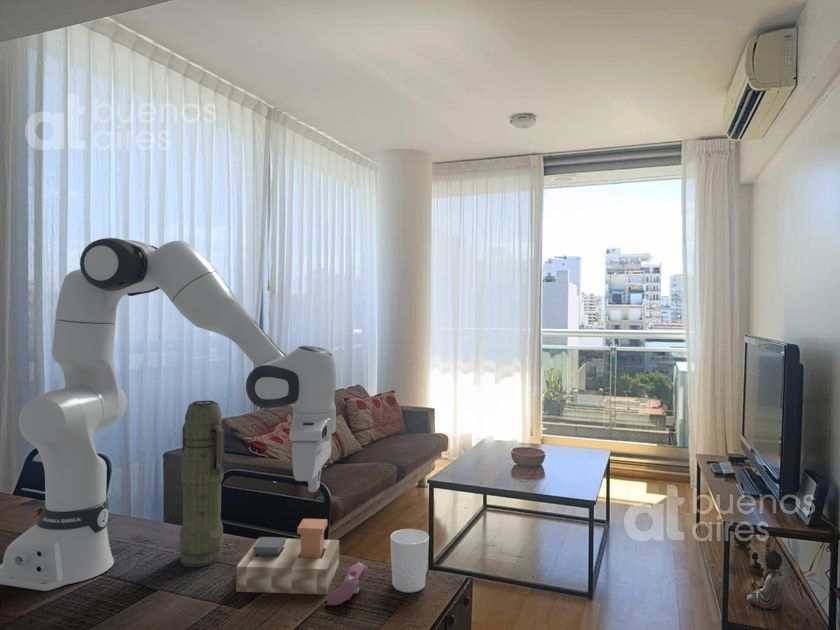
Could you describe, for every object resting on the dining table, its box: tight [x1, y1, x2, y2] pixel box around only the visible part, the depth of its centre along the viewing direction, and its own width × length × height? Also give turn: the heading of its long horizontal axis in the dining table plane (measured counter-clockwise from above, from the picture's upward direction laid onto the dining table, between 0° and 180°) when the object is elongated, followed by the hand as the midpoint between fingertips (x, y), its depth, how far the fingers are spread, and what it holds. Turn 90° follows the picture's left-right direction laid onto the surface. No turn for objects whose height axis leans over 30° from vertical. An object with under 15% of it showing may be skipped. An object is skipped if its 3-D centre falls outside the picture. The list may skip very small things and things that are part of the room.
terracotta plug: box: [296, 518, 328, 559], centre depth 117 cm, size 5×5×7 cm
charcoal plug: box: [253, 536, 286, 557], centre depth 117 cm, size 5×5×7 cm
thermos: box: [179, 400, 226, 568], centre depth 125 cm, size 9×12×35 cm
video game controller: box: [326, 561, 369, 606], centre depth 110 cm, size 10×5×7 cm, turn 170°
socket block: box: [235, 537, 340, 595], centre depth 117 cm, size 18×14×5 cm
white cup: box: [390, 528, 430, 593], centre depth 114 cm, size 8×8×10 cm
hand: (314, 489), depth 117 cm, fingers closed
